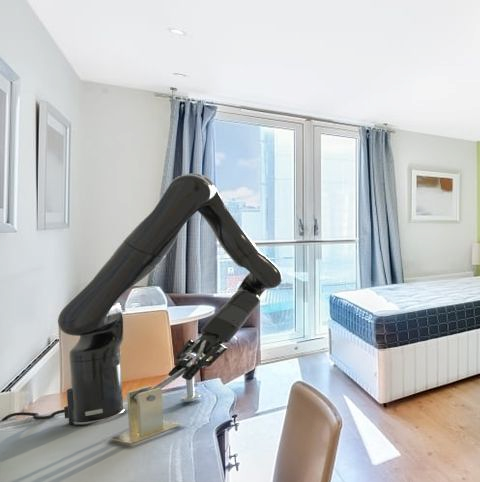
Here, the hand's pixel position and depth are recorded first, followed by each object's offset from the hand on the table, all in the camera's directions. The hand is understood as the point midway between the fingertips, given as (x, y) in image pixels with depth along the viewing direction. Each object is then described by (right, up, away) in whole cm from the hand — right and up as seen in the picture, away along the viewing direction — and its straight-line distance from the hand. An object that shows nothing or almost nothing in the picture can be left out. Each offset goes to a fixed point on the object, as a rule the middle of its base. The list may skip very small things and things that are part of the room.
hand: (178, 377), depth 114 cm
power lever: (-1, -2, -2) cm, 3 cm away
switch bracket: (-2, -13, -6) cm, 14 cm away
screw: (-8, -12, +13) cm, 19 cm away
